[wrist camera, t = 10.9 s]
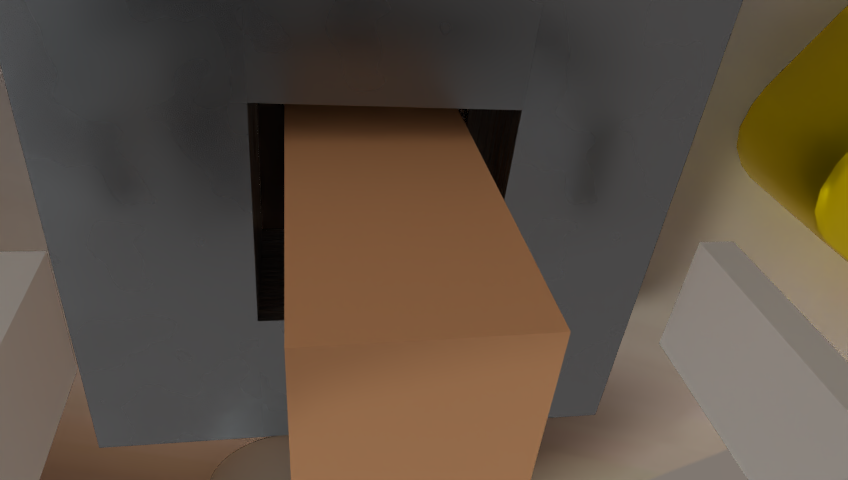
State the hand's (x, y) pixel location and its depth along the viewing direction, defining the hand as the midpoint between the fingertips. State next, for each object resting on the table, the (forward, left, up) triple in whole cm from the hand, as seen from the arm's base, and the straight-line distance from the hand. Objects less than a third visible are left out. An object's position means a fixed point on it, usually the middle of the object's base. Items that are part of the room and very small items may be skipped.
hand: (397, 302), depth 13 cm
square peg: (0, 0, -7) cm, 7 cm away
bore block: (0, 0, -7) cm, 7 cm away
